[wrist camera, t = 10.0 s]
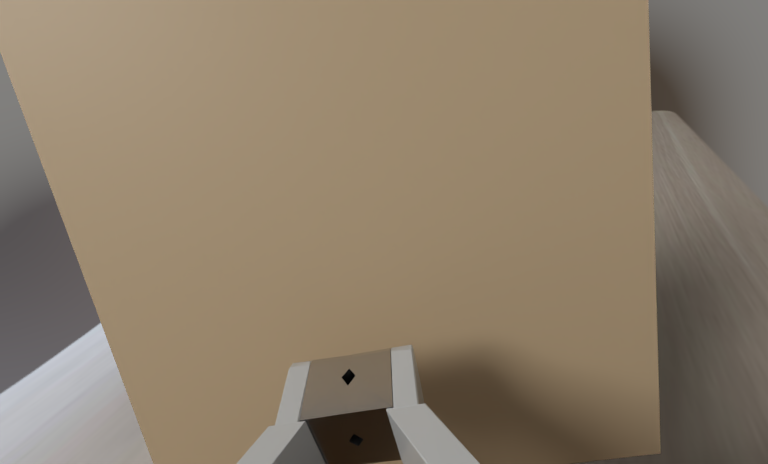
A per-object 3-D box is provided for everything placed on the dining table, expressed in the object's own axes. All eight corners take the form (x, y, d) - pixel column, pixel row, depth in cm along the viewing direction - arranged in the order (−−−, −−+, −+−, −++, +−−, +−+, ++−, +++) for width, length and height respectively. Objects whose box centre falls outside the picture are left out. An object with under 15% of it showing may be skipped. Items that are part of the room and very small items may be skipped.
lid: (643, -168, 8) (630, -150, 9) (-22, -7, 9) (-1, 0, 10) (660, 453, 12) (649, 440, 12) (170, 508, 13) (178, 495, 13)
